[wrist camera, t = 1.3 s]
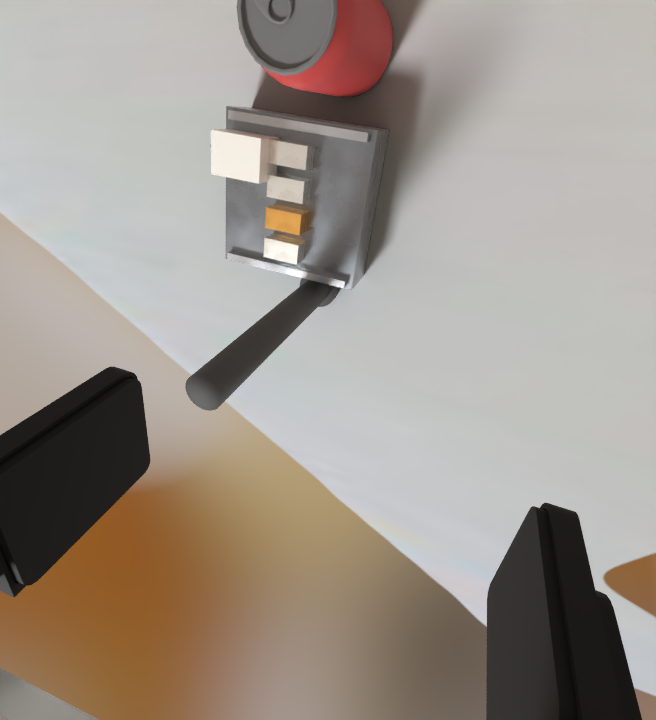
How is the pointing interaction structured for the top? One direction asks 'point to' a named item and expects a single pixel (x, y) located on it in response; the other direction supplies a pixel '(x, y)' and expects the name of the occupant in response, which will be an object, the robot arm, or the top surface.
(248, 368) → the post
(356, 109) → the top surface
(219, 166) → the white block
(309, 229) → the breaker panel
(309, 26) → the beer can
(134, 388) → the robot arm
